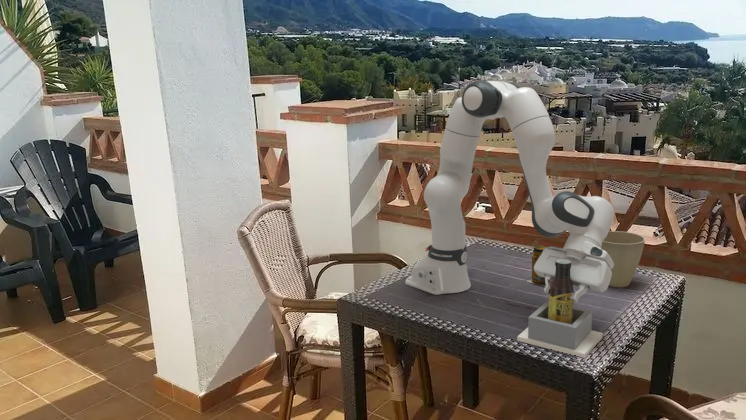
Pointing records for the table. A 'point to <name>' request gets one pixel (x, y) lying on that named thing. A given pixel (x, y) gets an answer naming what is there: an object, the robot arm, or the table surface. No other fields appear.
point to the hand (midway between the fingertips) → (559, 296)
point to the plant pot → (623, 255)
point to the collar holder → (561, 332)
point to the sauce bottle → (561, 293)
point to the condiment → (535, 257)
